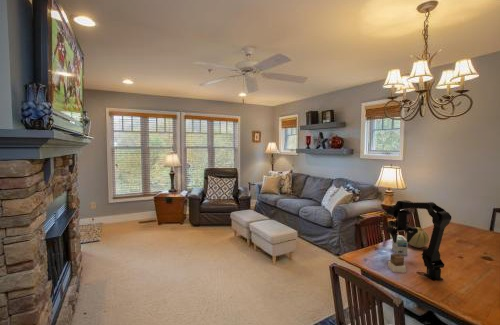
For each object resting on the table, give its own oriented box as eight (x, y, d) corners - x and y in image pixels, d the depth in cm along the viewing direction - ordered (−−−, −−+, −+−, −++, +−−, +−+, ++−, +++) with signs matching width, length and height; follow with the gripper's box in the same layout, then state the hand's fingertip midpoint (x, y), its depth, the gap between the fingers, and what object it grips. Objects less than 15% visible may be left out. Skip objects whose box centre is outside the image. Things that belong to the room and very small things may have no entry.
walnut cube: (403, 265, 153) (403, 257, 152) (396, 265, 152) (396, 257, 152) (397, 261, 158) (398, 253, 157) (390, 262, 157) (390, 254, 157)
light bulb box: (407, 255, 174) (408, 240, 173) (396, 254, 175) (397, 239, 175) (401, 249, 185) (402, 234, 184) (391, 248, 186) (392, 234, 185)
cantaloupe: (408, 241, 199) (408, 222, 198) (430, 246, 189) (431, 227, 188) (402, 246, 189) (403, 227, 188) (426, 252, 179) (427, 232, 177)
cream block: (405, 273, 151) (405, 266, 151) (393, 272, 152) (393, 266, 152) (399, 267, 158) (399, 261, 158) (388, 267, 159) (388, 261, 159)
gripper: (406, 215, 174) (405, 237, 175) (381, 216, 172) (380, 238, 173) (419, 220, 163) (418, 243, 164) (392, 221, 161) (391, 245, 162)
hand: (401, 242), depth 166 cm, fingers open, 9 cm apart
